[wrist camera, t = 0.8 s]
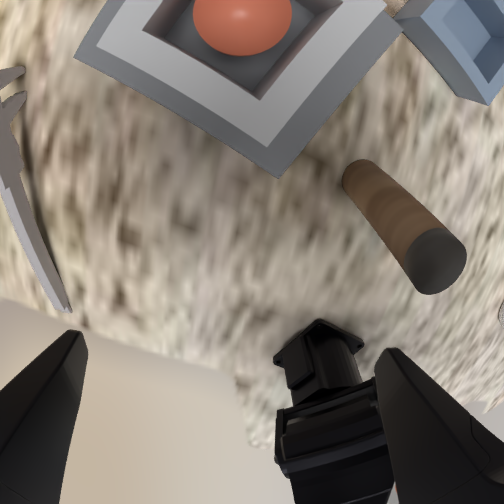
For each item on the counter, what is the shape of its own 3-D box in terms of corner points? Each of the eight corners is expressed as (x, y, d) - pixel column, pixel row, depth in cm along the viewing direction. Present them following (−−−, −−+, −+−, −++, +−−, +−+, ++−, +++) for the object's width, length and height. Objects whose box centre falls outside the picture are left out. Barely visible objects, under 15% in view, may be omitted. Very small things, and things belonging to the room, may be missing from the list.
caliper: (16, 68, 14) (-46, 82, 9) (28, 64, 14) (-34, 76, 9) (64, 308, 25) (39, 362, 20) (74, 309, 25) (50, 364, 20)
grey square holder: (392, 30, 15) (449, 27, 10) (275, 170, 20) (292, 214, 15) (202, -95, 9) (193, -142, 4) (83, 57, 14) (30, 61, 9)
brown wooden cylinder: (387, 176, 20) (475, 260, 12) (361, 206, 21) (432, 303, 13) (361, 151, 19) (449, 227, 11) (333, 183, 20) (401, 277, 12)
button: (301, 11, 12) (310, 5, 10) (250, 72, 13) (253, 73, 12) (231, -33, 10) (231, -45, 9) (179, 29, 12) (173, 24, 10)
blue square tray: (498, 39, 14) (530, 44, 11) (456, 95, 17) (488, 106, 14) (441, -34, 11) (472, -42, 8) (390, 20, 14) (420, 16, 11)
